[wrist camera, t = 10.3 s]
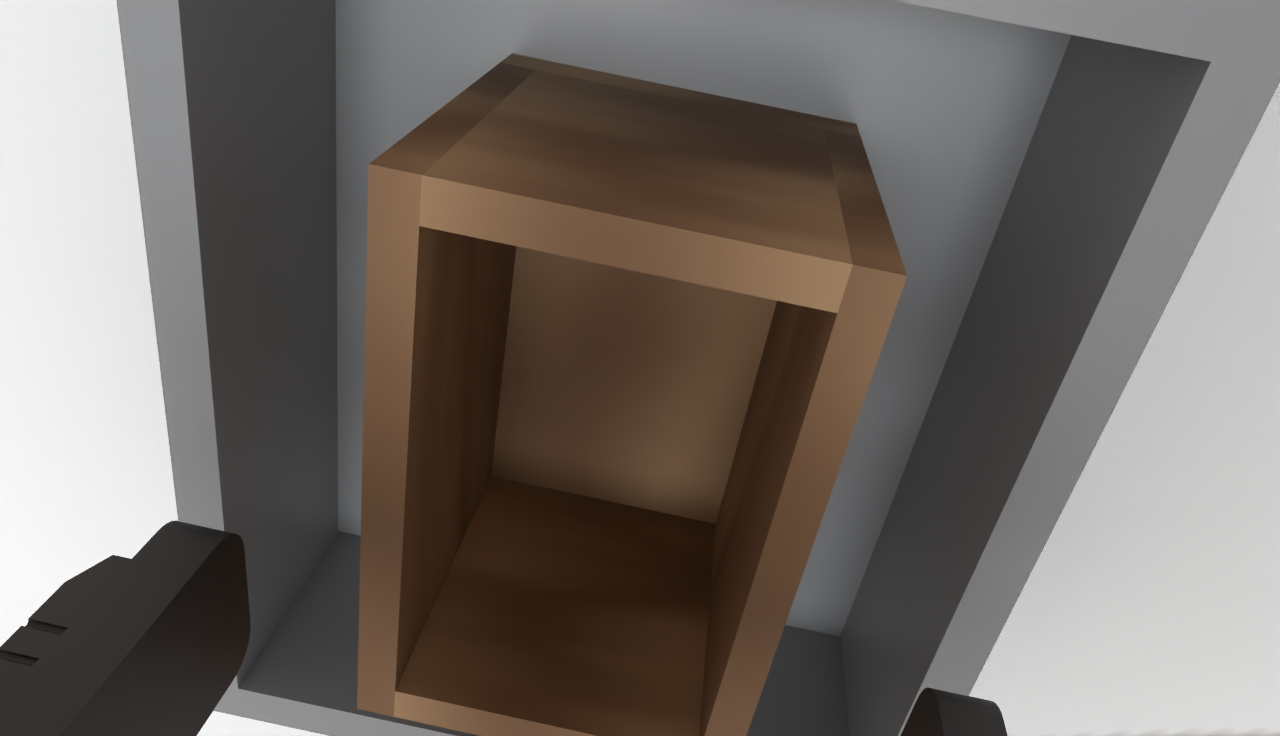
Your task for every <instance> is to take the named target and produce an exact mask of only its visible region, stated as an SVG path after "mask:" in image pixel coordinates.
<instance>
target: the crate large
mask: <svg viewBox="0 0 1280 736" xmlns="http://www.w3.org/2000/svg"><path fill="white" fill-rule="evenodd" d="M117 7H118V16H119V24H120V33H121V41H122V49H123V58H124V66H125V75H126V83H127V92H128V100H129V108H130V117H131V125H132V134H133V142H134V151H135V159H136V167H137V176H138V184H139V193H140V201H141V209H142V218H143V226H144V235H145V243H146V252H147V260H148V268H149V277H150V285H151V294H152V302H153V311H154V319H155V327H156V336H157V344H158V353H159V361H160V370H161V378H162V386H163V395H164V403H165V412H166V420H167V429H168V437H169V445H170V454H171V462H172V471H173V479H174V488H175V496H176V504H177V513H178V521H180V522H184V523H189V524H193V525H198V526H203V527H207V528H212V529H216V530H221V531H226V532H230V533H235V534H238V535H239V536H240V537H241V538H242V540H243V543H244V549H245V561H246V573H247V585H248V598H249V610H250V622H251V630H250V638H249V643H248V647H247V651H246V654H245V657H244V659H243V662H242V664H241V667H240V669H239V671H238V673H237V675H236V677H235V678H234V680H233V682H232V683H231V685H230V686H229V688H228V689H227V691H226V692H225V694H224V695H223V697H222V698H221V700H220V701H219V703H218V704H217V706H216V707H215V709H214V710H213V711H218V712H222V713H227V714H232V715H236V716H241V717H246V718H250V719H255V720H260V721H264V722H269V723H273V724H278V725H283V726H287V727H292V728H297V729H301V730H306V731H310V732H315V733H320V734H324V735H329V736H479V735H474V734H470V733H465V732H461V731H456V730H452V729H447V728H443V727H438V726H434V725H429V724H424V723H420V722H415V721H411V720H406V719H402V718H397V717H393V716H388V715H384V714H379V713H375V712H370V711H365V710H361V709H357V685H358V638H359V591H360V544H361V497H362V450H363V403H364V356H365V309H366V262H367V215H368V168H369V163H371V162H372V161H373V160H374V159H376V158H377V157H378V156H380V155H381V154H382V153H384V152H385V151H386V150H387V149H389V148H390V147H391V146H393V145H394V144H395V143H396V142H398V141H399V140H400V139H402V138H403V137H404V136H406V135H407V134H408V133H409V132H411V131H412V130H413V129H415V128H416V127H417V126H419V125H420V124H421V123H422V122H424V121H425V120H426V119H428V118H429V117H430V116H431V115H433V114H434V113H435V112H437V111H438V110H439V109H441V108H442V107H443V106H444V105H446V104H447V103H448V102H450V101H451V100H452V99H453V98H455V97H456V96H457V95H459V94H460V93H461V92H463V91H464V90H465V89H466V88H468V87H469V86H470V85H472V84H473V83H474V82H476V81H477V80H478V79H479V78H481V77H482V76H483V75H485V74H486V73H487V72H488V71H490V70H491V69H492V68H494V67H495V66H496V65H498V64H499V63H500V62H501V61H503V60H504V59H505V58H507V57H508V56H509V55H510V54H512V53H513V54H518V55H523V56H528V57H533V58H538V59H542V60H547V61H552V62H557V63H562V64H567V65H572V66H577V67H582V68H586V69H591V70H596V71H601V72H606V73H611V74H616V75H621V76H626V77H630V78H635V79H640V80H645V81H650V82H655V83H660V84H665V85H670V86H674V87H679V88H684V89H689V90H694V91H699V92H704V93H709V94H714V95H718V96H723V97H728V98H733V99H738V100H743V101H748V102H753V103H758V104H762V105H767V106H772V107H777V108H782V109H787V110H792V111H797V112H802V113H806V114H811V115H816V116H821V117H826V118H831V119H836V120H841V121H846V122H850V123H855V124H857V127H858V130H859V133H860V136H861V139H862V142H863V145H864V148H865V151H866V154H867V157H868V160H869V163H870V166H871V169H872V172H873V175H874V178H875V181H876V184H877V187H878V190H879V193H880V196H881V199H882V202H883V205H884V208H885V211H886V214H887V217H888V220H889V223H890V226H891V229H892V232H893V235H894V238H895V241H896V244H897V247H898V250H899V253H900V256H901V259H902V262H903V265H904V268H905V271H906V274H907V278H906V281H905V284H904V287H903V290H902V293H901V295H900V298H899V301H898V304H897V307H896V310H895V313H894V315H893V318H892V321H891V324H890V327H889V330H888V333H887V335H886V338H885V341H884V344H883V347H882V350H881V353H880V355H879V358H878V361H877V364H876V367H875V370H874V373H873V375H872V378H871V381H870V384H869V387H868V390H867V393H866V395H865V398H864V401H863V404H862V407H861V410H860V413H859V415H858V418H857V421H856V424H855V427H854V430H853V433H852V435H851V438H850V441H849V444H848V447H847V450H846V452H845V455H844V458H843V461H842V464H841V467H840V470H839V472H838V475H837V478H836V481H835V484H834V487H833V490H832V492H831V495H830V498H829V501H828V504H827V507H826V510H825V512H824V515H823V518H822V521H821V524H820V527H819V530H818V532H817V535H816V538H815V541H814V544H813V547H812V550H811V552H810V555H809V558H808V561H807V564H806V567H805V570H804V572H803V575H802V578H801V581H800V584H799V587H798V590H797V592H796V595H795V598H794V601H793V604H792V607H791V610H790V612H789V615H788V618H787V621H786V624H785V627H784V630H783V632H782V635H781V638H780V641H779V644H778V647H777V650H776V652H775V655H774V658H773V661H772V664H771V667H770V670H769V672H768V675H767V678H766V681H765V684H764V687H763V690H762V692H761V695H760V698H759V701H758V704H757V707H756V709H755V712H754V715H753V718H752V721H751V724H750V727H749V729H748V732H747V735H746V736H901V733H902V731H903V729H904V727H905V725H906V722H907V720H908V718H909V716H910V714H911V711H912V709H913V707H914V705H915V703H916V701H917V698H918V697H919V695H920V693H921V692H922V690H924V689H925V688H927V687H929V688H933V689H938V690H942V691H947V692H952V693H956V694H961V695H965V696H968V695H969V694H970V692H971V690H972V688H973V686H974V684H975V682H976V680H977V678H978V676H979V674H980V672H981V670H982V668H983V666H984V664H985V662H986V660H987V658H988V656H989V654H990V652H991V650H992V648H993V646H994V644H995V642H996V640H997V638H998V636H999V634H1000V632H1001V630H1002V628H1003V626H1004V625H1005V623H1006V621H1007V619H1008V617H1009V615H1010V613H1011V611H1012V609H1013V607H1014V605H1015V603H1016V601H1017V599H1018V597H1019V595H1020V593H1021V591H1022V589H1023V587H1024V585H1025V583H1026V581H1027V579H1028V577H1029V575H1030V573H1031V571H1032V569H1033V567H1034V565H1035V563H1036V561H1037V559H1038V557H1039V556H1040V554H1041V552H1042V550H1043V548H1044V546H1045V544H1046V542H1047V540H1048V538H1049V536H1050V534H1051V532H1052V530H1053V528H1054V526H1055V524H1056V522H1057V520H1058V518H1059V516H1060V514H1061V512H1062V510H1063V508H1064V506H1065V504H1066V502H1067V500H1068V498H1069V496H1070V494H1071V492H1072V490H1073V488H1074V487H1075V485H1076V483H1077V481H1078V479H1079V477H1080V475H1081V473H1082V471H1083V469H1084V467H1085V465H1086V463H1087V461H1088V459H1089V457H1090V455H1091V453H1092V451H1093V449H1094V447H1095V445H1096V443H1097V441H1098V439H1099V437H1100V435H1101V433H1102V431H1103V429H1104V427H1105V425H1106V423H1107V421H1108V419H1109V418H1110V416H1111V414H1112V412H1113V410H1114V408H1115V406H1116V404H1117V402H1118V400H1119V398H1120V396H1121V394H1122V392H1123V390H1124V388H1125V386H1126V384H1127V382H1128V380H1129V378H1130V376H1131V374H1132V372H1133V370H1134V368H1135V366H1136V364H1137V362H1138V360H1139V358H1140V356H1141V354H1142V352H1143V350H1144V349H1145V347H1146V345H1147V343H1148V341H1149V339H1150V337H1151V335H1152V333H1153V331H1154V329H1155V327H1156V325H1157V323H1158V321H1159V319H1160V317H1161V315H1162V313H1163V311H1164V309H1165V307H1166V305H1167V303H1168V301H1169V299H1170V297H1171V295H1172V293H1173V291H1174V289H1175V287H1176V285H1177V283H1178V281H1179V280H1180V278H1181V276H1182V274H1183V272H1184V270H1185V268H1186V266H1187V264H1188V262H1189V260H1190V258H1191V256H1192V254H1193V252H1194V250H1195V248H1196V246H1197V244H1198V242H1199V240H1200V238H1201V236H1202V234H1203V232H1204V230H1205V228H1206V226H1207V224H1208V222H1209V220H1210V218H1211V216H1212V214H1213V213H1214V211H1215V209H1216V207H1217V205H1218V203H1219V201H1220V199H1221V197H1222V195H1223V193H1224V191H1225V189H1226V187H1227V185H1228V183H1229V181H1230V179H1231V177H1232V175H1233V173H1234V171H1235V169H1236V167H1237V165H1238V163H1239V161H1240V159H1241V157H1242V155H1243V153H1244V151H1245V149H1246V147H1247V145H1248V144H1249V142H1250V140H1251V138H1252V136H1253V134H1254V132H1255V130H1256V128H1257V126H1258V124H1259V122H1260V120H1261V118H1262V116H1263V114H1264V112H1265V110H1266V108H1267V106H1268V104H1269V102H1270V100H1271V98H1272V96H1273V94H1274V92H1275V90H1276V88H1277V86H1278V84H1279V82H1280V0H117Z"/></svg>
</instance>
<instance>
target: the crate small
mask: <svg viewBox="0 0 1280 736" xmlns="http://www.w3.org/2000/svg"><path fill="white" fill-rule="evenodd" d="M906 278H907V274H906V271H905V268H904V265H903V262H902V259H901V256H900V253H899V250H898V247H897V244H896V241H895V238H894V235H893V232H892V229H891V226H890V223H889V220H888V217H887V214H886V211H885V208H884V205H883V202H882V199H881V196H880V193H879V190H878V187H877V184H876V181H875V178H874V175H873V172H872V169H871V166H870V163H869V160H868V157H867V154H866V151H865V148H864V145H863V142H862V139H861V136H860V133H859V130H858V127H857V124H855V123H850V122H846V121H841V120H836V119H831V118H826V117H821V116H816V115H811V114H806V113H802V112H797V111H792V110H787V109H782V108H777V107H772V106H767V105H762V104H758V103H753V102H748V101H743V100H738V99H733V98H728V97H723V96H718V95H714V94H709V93H704V92H699V91H694V90H689V89H684V88H679V87H674V86H670V85H665V84H660V83H655V82H650V81H645V80H640V79H635V78H630V77H626V76H621V75H616V74H611V73H606V72H601V71H596V70H591V69H586V68H582V67H577V66H572V65H567V64H562V63H557V62H552V61H547V60H542V59H538V58H533V57H528V56H523V55H518V54H513V53H512V54H510V55H509V56H508V57H507V58H505V59H504V60H503V61H501V62H500V63H499V64H498V65H496V66H495V67H494V68H492V69H491V70H490V71H488V72H487V73H486V74H485V75H483V76H482V77H481V78H479V79H478V80H477V81H476V82H474V83H473V84H472V85H470V86H469V87H468V88H466V89H465V90H464V91H463V92H461V93H460V94H459V95H457V96H456V97H455V98H453V99H452V100H451V101H450V102H448V103H447V104H446V105H444V106H443V107H442V108H441V109H439V110H438V111H437V112H435V113H434V114H433V115H431V116H430V117H429V118H428V119H426V120H425V121H424V122H422V123H421V124H420V125H419V126H417V127H416V128H415V129H413V130H412V131H411V132H409V133H408V134H407V135H406V136H404V137H403V138H402V139H400V140H399V141H398V142H396V143H395V144H394V145H393V146H391V147H390V148H389V149H387V150H386V151H385V152H384V153H382V154H381V155H380V156H378V157H377V158H376V159H374V160H373V161H372V162H371V163H369V168H368V215H367V262H366V309H365V356H364V403H363V450H362V497H361V544H360V591H359V638H358V685H357V709H361V710H365V711H370V712H375V713H379V714H384V715H388V716H393V717H397V718H402V719H406V720H411V721H415V722H420V723H424V724H429V725H434V726H438V727H443V728H447V729H452V730H456V731H461V732H465V733H470V734H474V735H479V736H746V735H747V732H748V729H749V727H750V724H751V721H752V718H753V715H754V712H755V709H756V707H757V704H758V701H759V698H760V695H761V692H762V690H763V687H764V684H765V681H766V678H767V675H768V672H769V670H770V667H771V664H772V661H773V658H774V655H775V652H776V650H777V647H778V644H779V641H780V638H781V635H782V632H783V630H784V627H785V624H786V621H787V618H788V615H789V612H790V610H791V607H792V604H793V601H794V598H795V595H796V592H797V590H798V587H799V584H800V581H801V578H802V575H803V572H804V570H805V567H806V564H807V561H808V558H809V555H810V552H811V550H812V547H813V544H814V541H815V538H816V535H817V532H818V530H819V527H820V524H821V521H822V518H823V515H824V512H825V510H826V507H827V504H828V501H829V498H830V495H831V492H832V490H833V487H834V484H835V481H836V478H837V475H838V472H839V470H840V467H841V464H842V461H843V458H844V455H845V452H846V450H847V447H848V444H849V441H850V438H851V435H852V433H853V430H854V427H855V424H856V421H857V418H858V415H859V413H860V410H861V407H862V404H863V401H864V398H865V395H866V393H867V390H868V387H869V384H870V381H871V378H872V375H873V373H874V370H875V367H876V364H877V361H878V358H879V355H880V353H881V350H882V347H883V344H884V341H885V338H886V335H887V333H888V330H889V327H890V324H891V321H892V318H893V315H894V313H895V310H896V307H897V304H898V301H899V298H900V295H901V293H902V290H903V287H904V284H905V281H906Z"/></svg>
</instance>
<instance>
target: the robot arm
mask: <svg viewBox="0 0 1280 736" xmlns="http://www.w3.org/2000/svg"><path fill="white" fill-rule="evenodd" d="M250 630H251V622H250V610H249V598H248V585H247V573H246V561H245V549H244V543H243V540H242V538H241V537H240V536H239V535H238V534H235V533H230V532H226V531H221V530H216V529H212V528H207V527H203V526H198V525H193V524H189V523H184V522H180V521H171V522H169V523H167V524H166V525H164V526H163V527H162V528H161V529H160V530H159V531H158V532H157V533H156V534H155V535H154V536H153V537H152V538H151V539H150V540H149V541H148V542H147V543H146V544H145V546H144V547H143V548H142V549H141V550H140V551H139V552H138V553H137V554H136V555H135V556H134V557H133V558H132V559H129V558H124V557H120V556H115V555H112V556H110V557H109V558H107V559H105V560H103V561H102V562H100V563H98V564H96V565H95V566H93V567H91V568H89V569H87V570H86V571H84V572H82V573H80V574H79V575H77V576H75V577H73V578H72V579H70V580H68V581H66V582H65V583H64V584H63V585H62V586H61V587H60V588H59V589H58V590H57V591H56V592H55V593H54V594H53V595H52V596H51V597H50V598H49V599H48V600H47V601H46V602H45V603H44V604H43V605H42V606H41V607H40V608H39V609H38V610H37V611H36V612H35V613H34V614H33V615H32V616H31V617H30V618H29V621H28V624H27V625H26V626H25V627H23V626H21V627H20V628H19V629H18V630H17V631H16V632H15V633H14V634H13V635H12V636H11V637H10V638H9V639H8V640H7V641H6V642H5V643H4V644H3V645H2V646H1V647H0V736H196V735H197V734H198V732H199V731H200V729H201V728H202V727H203V725H204V724H205V722H206V721H207V719H208V718H209V716H210V715H211V713H212V712H213V710H214V709H215V707H216V706H217V704H218V703H219V701H220V700H221V698H222V697H223V695H224V694H225V692H226V691H227V689H228V688H229V686H230V685H231V683H232V682H233V680H234V678H235V677H236V675H237V673H238V671H239V669H240V667H241V664H242V662H243V659H244V657H245V654H246V651H247V647H248V643H249V638H250ZM901 736H1007V732H1006V728H1005V724H1004V721H1003V717H1002V714H1001V711H1000V709H999V707H998V706H997V705H996V703H994V702H993V701H988V700H984V699H979V698H974V697H970V696H965V695H961V694H956V693H952V692H947V691H942V690H938V689H933V688H929V687H927V688H925V689H924V690H922V692H921V693H920V695H919V697H918V698H917V701H916V703H915V705H914V707H913V709H912V711H911V714H910V716H909V718H908V720H907V722H906V725H905V727H904V729H903V731H902V733H901Z"/></svg>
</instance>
